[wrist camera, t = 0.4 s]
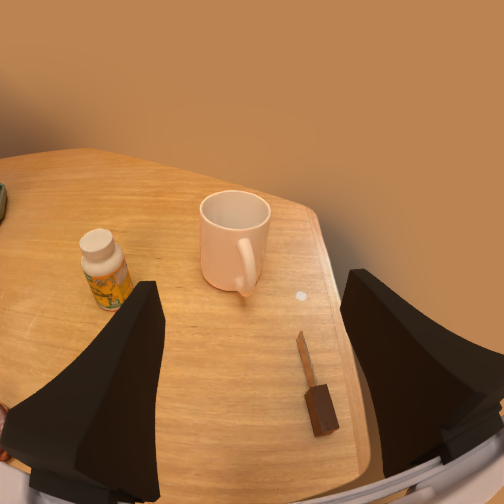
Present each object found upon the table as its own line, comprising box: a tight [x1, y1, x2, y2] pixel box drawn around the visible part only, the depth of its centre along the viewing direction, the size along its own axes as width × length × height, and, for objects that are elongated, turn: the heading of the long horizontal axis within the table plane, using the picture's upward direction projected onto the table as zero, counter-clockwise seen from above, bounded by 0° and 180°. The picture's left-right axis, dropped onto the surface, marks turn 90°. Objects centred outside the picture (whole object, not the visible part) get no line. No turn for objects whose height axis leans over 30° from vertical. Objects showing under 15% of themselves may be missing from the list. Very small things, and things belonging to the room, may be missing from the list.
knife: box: [296, 331, 339, 437], centre depth 28 cm, size 12×2×2 cm, turn 9°
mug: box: [200, 190, 271, 297], centre depth 36 cm, size 12×8×10 cm
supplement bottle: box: [80, 229, 133, 311], centre depth 32 cm, size 5×5×10 cm
